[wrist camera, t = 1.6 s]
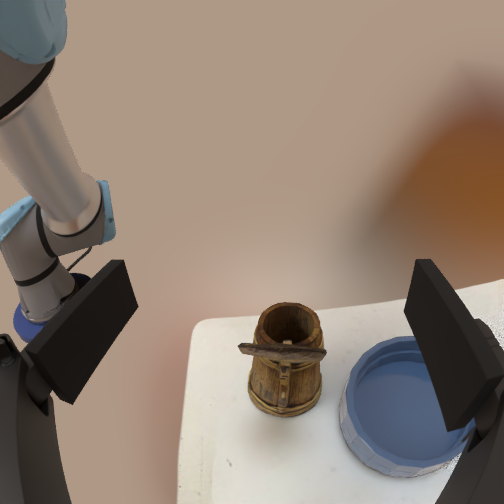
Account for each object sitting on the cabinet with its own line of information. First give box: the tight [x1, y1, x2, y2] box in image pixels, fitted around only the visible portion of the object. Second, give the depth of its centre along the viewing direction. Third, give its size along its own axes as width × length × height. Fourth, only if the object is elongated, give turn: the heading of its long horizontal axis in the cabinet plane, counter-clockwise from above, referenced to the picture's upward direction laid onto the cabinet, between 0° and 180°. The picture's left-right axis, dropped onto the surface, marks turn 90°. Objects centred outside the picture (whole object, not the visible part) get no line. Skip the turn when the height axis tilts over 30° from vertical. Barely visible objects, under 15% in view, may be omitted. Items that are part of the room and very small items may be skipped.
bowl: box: [340, 336, 476, 477], centre depth 24 cm, size 18×18×4 cm
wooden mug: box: [238, 302, 327, 417], centre depth 25 cm, size 9×14×18 cm, turn 169°
